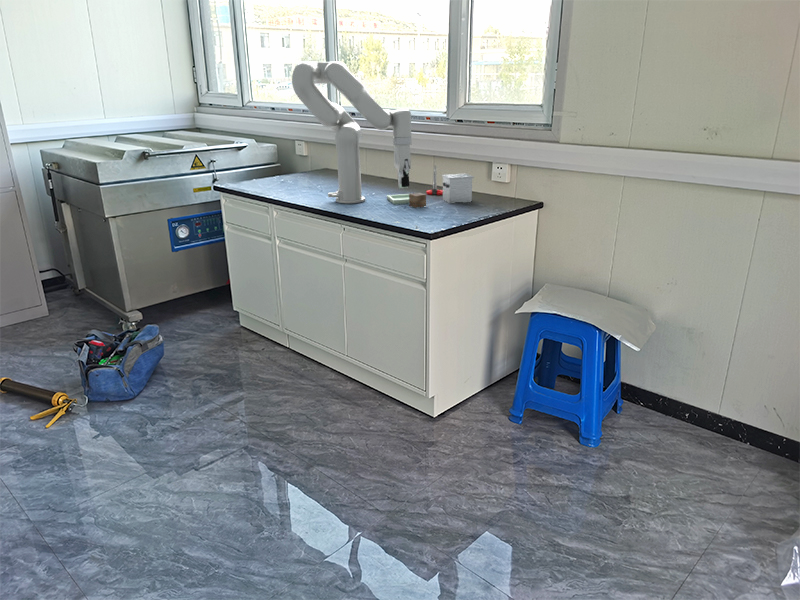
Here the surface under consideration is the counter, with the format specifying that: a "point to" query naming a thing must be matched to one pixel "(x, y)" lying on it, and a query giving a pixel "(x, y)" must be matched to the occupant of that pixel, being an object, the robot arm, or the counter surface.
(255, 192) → the counter surface
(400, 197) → the tray
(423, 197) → the walnut block
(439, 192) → the red base rod stand
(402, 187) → the spacer
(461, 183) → the control box
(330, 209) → the counter surface
